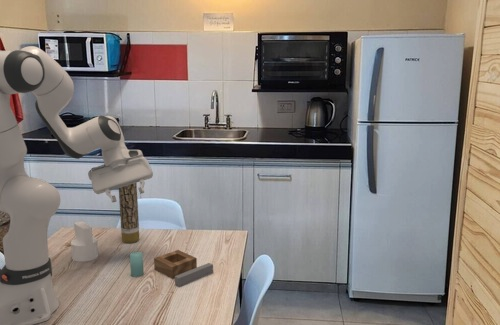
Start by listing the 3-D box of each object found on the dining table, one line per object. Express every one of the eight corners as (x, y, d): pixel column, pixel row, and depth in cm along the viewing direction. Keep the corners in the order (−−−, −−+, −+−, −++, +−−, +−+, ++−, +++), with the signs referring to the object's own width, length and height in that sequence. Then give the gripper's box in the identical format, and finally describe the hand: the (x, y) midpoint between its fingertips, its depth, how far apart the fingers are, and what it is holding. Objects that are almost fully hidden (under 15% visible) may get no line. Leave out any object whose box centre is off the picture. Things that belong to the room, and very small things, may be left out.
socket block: (172, 278, 150) (172, 267, 149) (154, 269, 156) (153, 258, 156) (196, 269, 157) (196, 258, 156) (178, 260, 163) (178, 249, 163)
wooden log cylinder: (134, 244, 181) (131, 181, 176) (118, 243, 182) (114, 180, 177) (142, 238, 187) (139, 177, 182) (126, 236, 189) (123, 176, 183)
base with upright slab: (68, 256, 170) (65, 224, 167) (92, 249, 176) (89, 219, 173) (77, 264, 163) (75, 231, 161) (102, 257, 169) (100, 225, 167)
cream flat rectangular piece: (179, 290, 144) (178, 278, 143) (142, 270, 158) (142, 259, 157) (213, 275, 154) (213, 264, 153) (176, 258, 168) (175, 248, 167)
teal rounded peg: (135, 281, 150) (134, 258, 149) (128, 277, 153) (127, 254, 151) (146, 277, 153) (144, 254, 151) (139, 273, 156) (138, 251, 154)
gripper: (84, 166, 155) (95, 204, 151) (145, 148, 160) (156, 185, 156) (88, 172, 161) (98, 209, 157) (146, 155, 166) (158, 191, 162)
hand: (128, 197), depth 156 cm, fingers open, 8 cm apart
